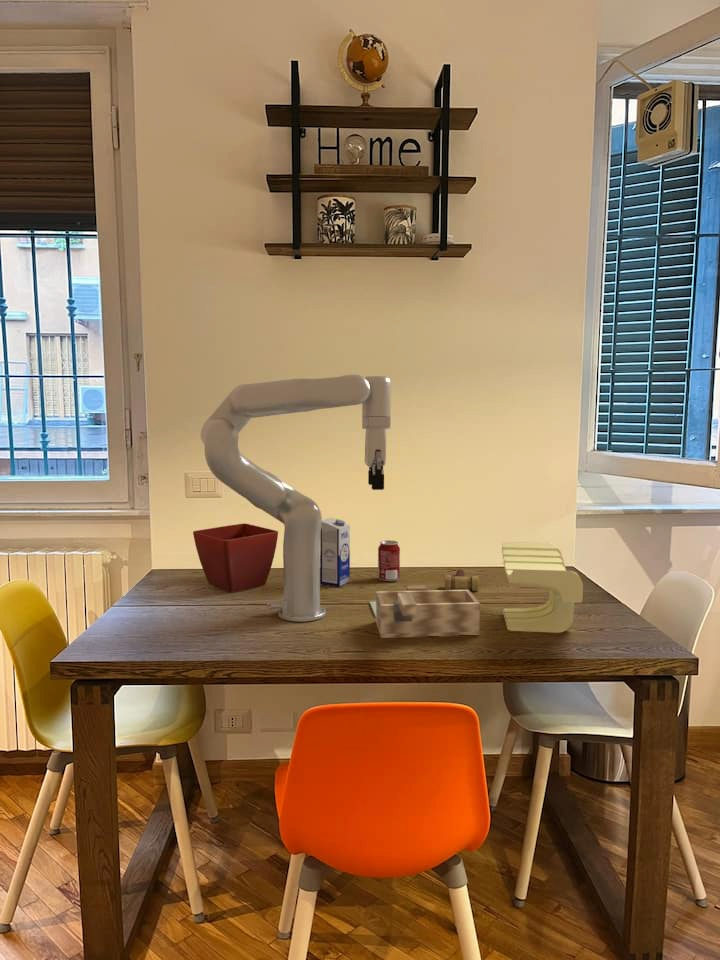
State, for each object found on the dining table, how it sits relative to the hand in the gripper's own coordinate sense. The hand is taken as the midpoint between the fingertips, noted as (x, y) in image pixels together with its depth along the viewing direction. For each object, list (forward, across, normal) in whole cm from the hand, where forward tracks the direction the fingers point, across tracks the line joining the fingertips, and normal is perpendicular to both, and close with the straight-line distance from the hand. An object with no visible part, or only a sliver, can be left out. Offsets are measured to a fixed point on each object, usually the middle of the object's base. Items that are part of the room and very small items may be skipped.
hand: (375, 487), depth 190 cm
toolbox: (+33, +20, +11) cm, 40 cm away
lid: (+34, +2, +11) cm, 36 cm away
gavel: (+34, -24, +29) cm, 51 cm away
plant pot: (+34, -25, -40) cm, 58 cm away
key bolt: (+24, +32, +4) cm, 40 cm away
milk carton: (+34, -25, -10) cm, 43 cm away
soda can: (+34, -28, +7) cm, 44 cm away
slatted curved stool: (+34, +16, +40) cm, 55 cm away
